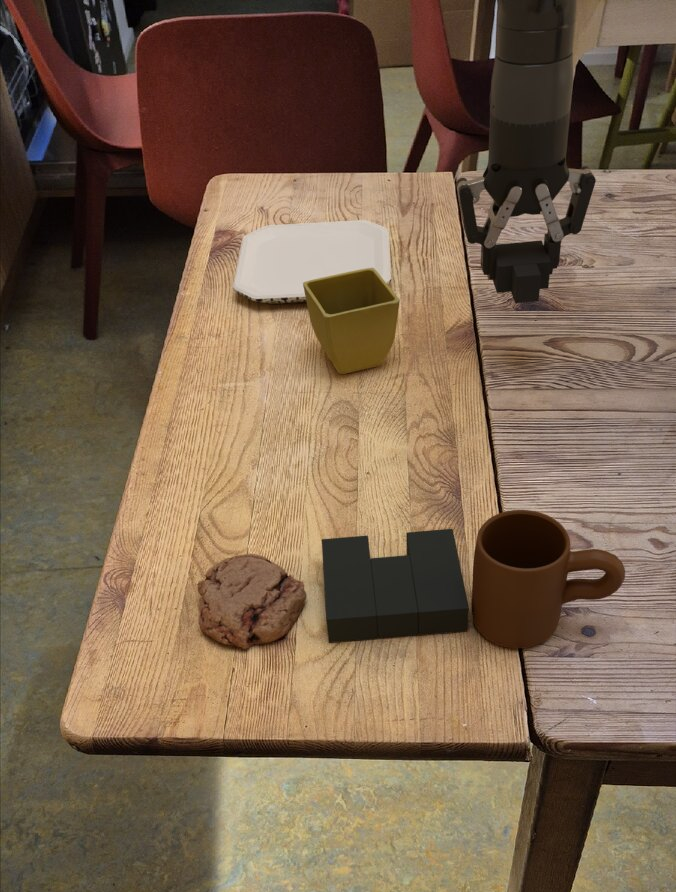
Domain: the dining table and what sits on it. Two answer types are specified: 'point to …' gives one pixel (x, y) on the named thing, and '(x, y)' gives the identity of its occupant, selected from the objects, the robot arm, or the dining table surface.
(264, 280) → the plate
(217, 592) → the cookie
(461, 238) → the dining table surface
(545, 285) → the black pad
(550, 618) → the mug
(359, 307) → the flower pot
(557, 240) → the robot arm
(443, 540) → the base pad
